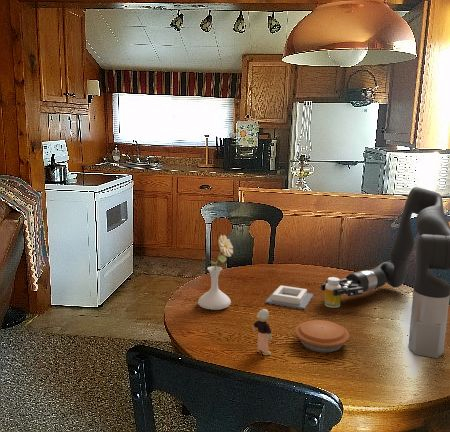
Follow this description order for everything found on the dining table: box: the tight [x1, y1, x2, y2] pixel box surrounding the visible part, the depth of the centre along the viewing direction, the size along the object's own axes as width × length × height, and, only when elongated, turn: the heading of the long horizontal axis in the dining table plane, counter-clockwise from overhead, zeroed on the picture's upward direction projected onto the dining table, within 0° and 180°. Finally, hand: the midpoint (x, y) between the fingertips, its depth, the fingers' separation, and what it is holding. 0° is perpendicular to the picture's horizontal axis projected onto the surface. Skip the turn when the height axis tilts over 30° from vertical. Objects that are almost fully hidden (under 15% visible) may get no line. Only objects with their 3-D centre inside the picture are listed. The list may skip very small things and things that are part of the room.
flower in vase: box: [197, 234, 234, 311], centre depth 158 cm, size 13×11×25 cm
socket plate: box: [264, 284, 314, 311], centre depth 167 cm, size 14×14×3 cm
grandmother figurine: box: [252, 308, 273, 356], centre depth 127 cm, size 8×4×13 cm, turn 47°
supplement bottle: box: [324, 276, 342, 309], centre depth 161 cm, size 5×5×10 cm
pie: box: [294, 319, 350, 353], centre depth 134 cm, size 15×16×5 cm
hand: (327, 290), depth 160 cm, fingers closed on supplement bottle, 5 cm apart
